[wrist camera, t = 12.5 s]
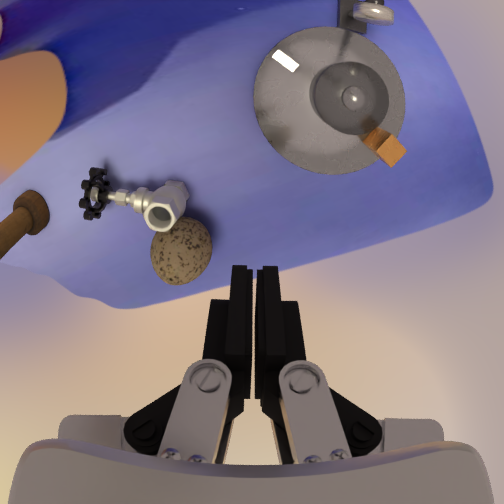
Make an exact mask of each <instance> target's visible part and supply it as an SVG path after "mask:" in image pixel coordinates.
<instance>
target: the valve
mask: <svg viewBox="0 0 504 504" xmlns="http://www.w3.org/2000/svg"><path fill="white" fill-rule="evenodd" d="M103 175H107V170H106V169H102V168H95V167H92V168H90V171H89V176H90V179H89V180H83V181H82V184H81V188H82V189H84V190H85V193H84V197H83V198H81V199H80V201H79V207H80V208H85V209H86V211H85V212H84V215H83V217H84V219H85V220H93V218H97V219H99V218H100V217H101V212H102V211H103V210H104V209H105V206H106V205H107V204H109V203H110V202H111V200H114V201H115V203H116V205H121V206H127V205H128V203H129V204H130V205H131V207H133V208H134V211H135V212H136V213H142V214H143V217H144V219H145V221H146V223H147V225H148V226H149V228H150V229H151V230H155V231H159V232H168V231H169V230H170V229H171V227H172V226H173V225H174V224H175V222H176V221H177V220H178V219H179V218H180V217H181V216H182V215H183V213H184V211H185V208H186V201H187V200H188V198H189V193H188V191H187V189H186V187H185V185H184V183H183V182H180V181H173V180H168V181H167V182H166V183H165V184H164V186H162V187H160V188H158V189H157V190H156V191H154V192H152V191H149V189H148V188H144V187H139V188H138V189H137V191H134V192H133V193H132V194H130V192H129V190H125V189H118V190H117V192H113V189H112V188H111V187H110V182H109V181H104V180H103V178H102V177H103ZM92 187H93V188H92ZM90 197H91V200H92V201H96V203H95V205H94V206H93V207H92V205H91V201H90Z"/></svg>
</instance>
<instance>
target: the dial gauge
mask: <svg viewBox="0 0 504 504" xmlns="http://www.w3.org/2000/svg"><path fill="white" fill-rule="evenodd" d="M383 5H384V0H366V1H364V2H362V1H358V0H338V17H337V28H341V29H346V30H349V31H352V32H355V33H359V34H366V27H367V23H370V24H375V25H383V26H389V25H393V24H394V11H393V10H392V9H390V8H388V7H386V6H383Z"/></svg>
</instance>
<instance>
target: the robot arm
mask: <svg viewBox="0 0 504 504" xmlns="http://www.w3.org/2000/svg"><path fill="white" fill-rule="evenodd" d="M252 283H253V269H247V265H233V266H232V276H231V287H230V298H229V300H220V299H219V300H218V299H211V302H210V309H209V316H208V322H207V329H206V336H205V343H204V350H203V357H202V360H199V361H197V362H195V363H193V364H192V365H191V366H190V367H188V369H187V371H186V373H185V375H184V378H183V381H182V383H181V384H180V385H178V386H177V387H175V388H174V389H172V390H171V391H169V392H168V393H166V394H165V395H163V396H161V397H160V398H158V399H157V400H155V401H154V402H152V403H150V404H149V405H147V406H146V407H144V408H143V409H141V410H139V411H138V412H136V413H134V414H133V415H132V416H130V417H121V415H70V416H67V417H65V418H64V419H63V420H62V422H61V423H60V426H59V432H58V439H46V440H41V441H37V442H35V443H32V444H31V445H29V446H28V447H27V448H26V450H25V451H24V453H23V454H22V456H21V458H20V461H19V463H18V465H17V468H16V471H15V475H14V478H13V481H12V486H11V490H10V495H9V501H8V504H494V499H493V494H492V490H491V485H490V480H489V477H488V473H487V470H486V467H485V465H484V462H483V460H482V458H481V456H480V454H479V453H478V452H477V450H476V449H475V448H473V447H472V446H470V445H468V444H464V443H461V442H454V441H444V433H443V429H442V427H441V425H440V424H439V423H438V422H437V421H435V420H432V419H394V418H385V419H384V420H376V419H375V418H374V417H373V416H371V415H370V414H368V413H367V412H365V411H364V410H362V409H361V408H359V407H358V406H356V405H355V404H353V403H351V402H350V401H349V400H347V399H346V398H344V397H343V396H341V395H340V394H338V393H337V392H335V391H334V390H332V389H331V388H330V387H329V386H328V383H327V381H326V378H325V375H324V373H323V371H322V370H321V369H320V368H319V367H318V366H317V365H316V364H313V363H312V362H309V361H306V354H305V347H304V340H303V334H302V326H301V320H300V313H299V306H298V302H297V301H281V293H280V283H279V275H278V266H263V270H257V284H256V306H255V399H260V403H261V405H260V406H261V407H262V412H263V413H265V414H266V415H267V416H268V417H269V418H271V425H272V430H273V435H274V440H275V444H276V449H277V454H278V459H279V463H280V465H229V464H228V465H227V464H224V463H225V459H226V454H227V450H228V446H229V441H230V437H231V432H232V427H233V423H234V418H235V417H237V416H238V415H239V414H241V413H242V412H243V411H244V399H250V389H251V369H252V309H253V308H252V305H253V303H252V302H253V301H252V300H253V295H252V294H253V291H252V290H253V289H252V288H253V284H252Z"/></svg>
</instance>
